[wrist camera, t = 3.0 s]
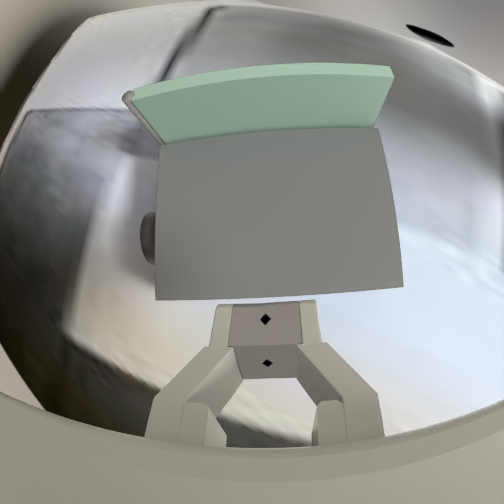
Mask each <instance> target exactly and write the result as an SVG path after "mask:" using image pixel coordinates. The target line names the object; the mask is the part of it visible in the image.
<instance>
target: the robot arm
mask: <svg viewBox="0 0 504 504" xmlns="http://www.w3.org/2000/svg"><path fill="white" fill-rule="evenodd" d="M263 378H297V380H298V381H299V382H300V384H301V385H302V387H303V388H304V389H305V391H306V392H307V394H308V395H309V396H310V398H311V399H312V400H313V402H314V403H315V404H316V406H317V408H316V414H315V419H314V424H313V430H312V446H310V447H294V448H229V447H226V437H227V436H226V434H225V432H224V431H223V429H222V428H221V426H220V425H219V423H218V421H217V420H216V417H217V416H218V414H219V413H220V412H221V410H222V409H223V408H224V406H225V405H226V403H227V402H228V401H229V399H230V398H231V397H232V395H233V394H234V393H235V391H236V390H237V388H238V387H239V386H240V384H241V383H242V381H243V380H242V379H263ZM0 504H504V400H501V401H499V402H497V403H494V404H492V405H490V406H487V407H485V408H482V409H479V410H477V411H474V412H471V413H469V414H466V415H463V416H460V417H457V418H454V419H451V420H448V421H445V422H441V423H438V424H435V425H431V426H427V427H424V428H420V429H416V430H412V431H408V432H404V433H399V434H395V435H390V436H385V434H384V428H383V422H382V416H381V410H380V405H379V400H378V394H377V393H376V392H375V391H374V390H373V389H372V388H371V387H370V386H369V385H368V384H367V383H366V382H365V381H364V379H363V378H362V377H361V376H360V375H359V374H358V373H357V372H356V371H355V370H354V369H353V368H352V367H351V366H350V365H349V364H348V363H347V362H346V361H345V360H344V359H343V358H342V357H341V356H340V355H339V354H338V353H337V352H336V351H335V350H334V349H333V348H332V347H331V346H330V345H329V344H328V343H327V342H325V343H322V339H321V331H320V324H319V317H318V310H317V303H316V301H315V300H303V301H299V302H298V301H288V302H273V303H258V304H218V306H217V307H216V311H215V316H214V322H213V327H212V333H211V338H210V344H209V347H204V348H203V349H202V350H201V351H200V352H199V353H198V354H197V355H196V356H195V357H194V358H193V359H192V360H191V361H190V362H189V363H188V364H187V365H186V366H185V367H184V368H183V369H182V370H181V371H180V372H179V373H178V374H177V375H176V376H175V377H174V378H173V379H172V380H171V381H170V382H169V383H168V384H167V385H166V386H165V387H164V388H163V389H162V390H161V391H160V392H159V393H158V394H157V395H156V396H155V397H154V400H153V404H152V408H151V412H150V416H149V420H148V424H147V428H146V432H145V437H144V438H143V437H138V436H133V435H128V434H123V433H119V432H115V431H110V430H106V429H102V428H99V427H95V426H91V425H88V424H84V423H81V422H77V421H74V420H71V419H68V418H65V417H62V416H59V415H56V414H53V413H50V412H47V411H45V410H42V409H39V408H37V407H34V406H32V405H29V404H27V403H24V402H22V401H20V400H17V399H15V398H13V397H11V396H8V395H6V394H4V393H2V392H0Z"/></svg>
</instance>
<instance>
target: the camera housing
mask: <svg viewBox="0 0 504 504" xmlns="http://www.w3.org/2000/svg"><path fill="white" fill-rule="evenodd" d="M140 240H141V247H142V251H143V254H144V256H145V258H146V260H147V261H148V262H149V263H151V264H155V297H156V300H212V299H241V298H264V297H283V296H300V295H315V294H330V293H343V292H355V291H366V290H377V289H388V288H398V287H403V273H402V261H401V251H400V242H399V234H398V226H397V219H396V213H395V206H394V200H393V194H392V189H391V183H390V178H389V173H388V168H387V163H386V159H385V154H384V150H383V146H382V142H381V138H380V134H379V130H378V129H376V128H319V129H295V130H279V131H265V132H254V133H244V134H235V135H226V136H218V137H211V138H203V139H197V140H190V141H184V142H178V143H172V144H166V145H161V146H160V152H159V165H158V179H157V196H156V212H152V213H147V214H146V215H145V216H144V218H143V220H142V224H141V230H140Z"/></svg>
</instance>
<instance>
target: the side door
mask: <svg viewBox="0 0 504 504" xmlns="http://www.w3.org/2000/svg"><path fill="white" fill-rule="evenodd" d="M393 80H394V75H393V73H392V70H391V68H390V66H382V65H370V64H354V63H290V64H273V65H261V66H251V67H242V68H234V69H226V70H219V71H213V72H207V73H201V74H196V75H191V76H186V77H181V78H176V79H172V80H167V81H163V82H159V83H155V84H151V85H147V86H143V87H140V88H136V89H134V90H133V91H128V92H126V93H125V94H124V95H123V96H122V101H123V102H124V103H125V104H126V106H127V107H128V108H129V109H130V110H131V111H132V113H133V114H134V115H135V116H136V117H137V119H138V120H139V121H140V122H141V123H142V125H143V126H144V127H145V128H146V129H147V130H148V132H149V133H150V134H151V135H152V136H153V138H154V139H155V140H156V141H157V142H158V143H159V145H160V146H161V145H166V144H172V143H178V142H184V141H190V140H197V139H203V138H211V137H218V136H226V135H235V134H244V133H254V132H265V131H279V130H295V129H319V128H373V126H374V124H375V121H376V119H377V117H378V115H379V112H380V110H381V108H382V106H383V103H384V101H385V99H386V96H387V94H388V92H389V90H390V87H391V85H392V82H393Z"/></svg>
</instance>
